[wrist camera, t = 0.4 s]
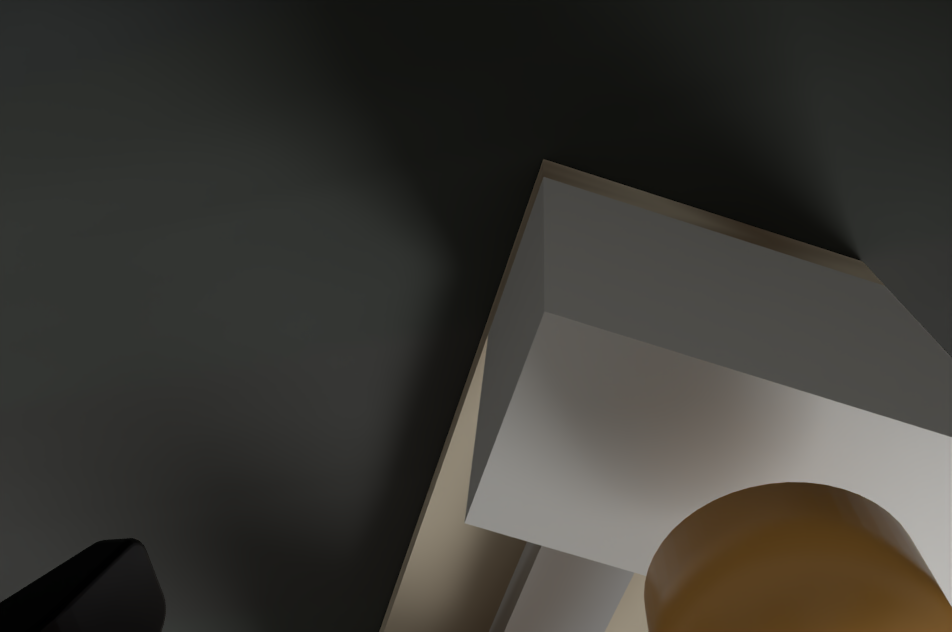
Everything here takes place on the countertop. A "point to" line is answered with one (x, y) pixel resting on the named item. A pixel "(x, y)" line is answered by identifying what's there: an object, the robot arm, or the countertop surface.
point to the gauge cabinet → (695, 386)
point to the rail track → (514, 560)
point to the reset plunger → (792, 567)
